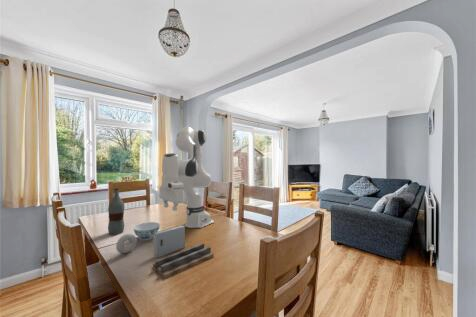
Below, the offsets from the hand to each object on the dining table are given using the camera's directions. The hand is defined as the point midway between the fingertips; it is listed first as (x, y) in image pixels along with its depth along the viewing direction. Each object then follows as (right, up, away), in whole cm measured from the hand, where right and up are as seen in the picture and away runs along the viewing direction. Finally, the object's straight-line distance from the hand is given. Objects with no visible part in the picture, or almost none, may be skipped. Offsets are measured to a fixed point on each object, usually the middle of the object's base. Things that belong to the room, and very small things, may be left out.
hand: (170, 208), depth 106 cm
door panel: (0, -23, 0) cm, 23 cm away
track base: (+11, -23, -10) cm, 27 cm away
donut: (-23, -23, -2) cm, 33 cm away
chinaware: (-21, -23, +17) cm, 36 cm away
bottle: (-46, -23, +26) cm, 58 cm away
